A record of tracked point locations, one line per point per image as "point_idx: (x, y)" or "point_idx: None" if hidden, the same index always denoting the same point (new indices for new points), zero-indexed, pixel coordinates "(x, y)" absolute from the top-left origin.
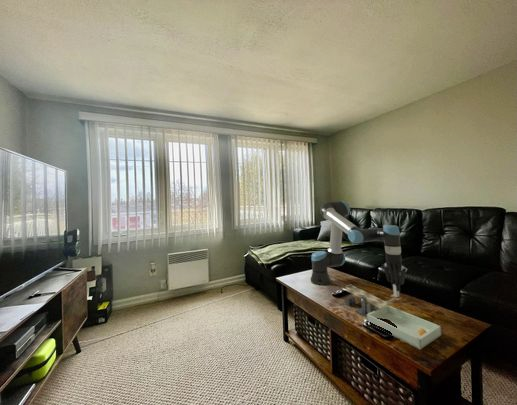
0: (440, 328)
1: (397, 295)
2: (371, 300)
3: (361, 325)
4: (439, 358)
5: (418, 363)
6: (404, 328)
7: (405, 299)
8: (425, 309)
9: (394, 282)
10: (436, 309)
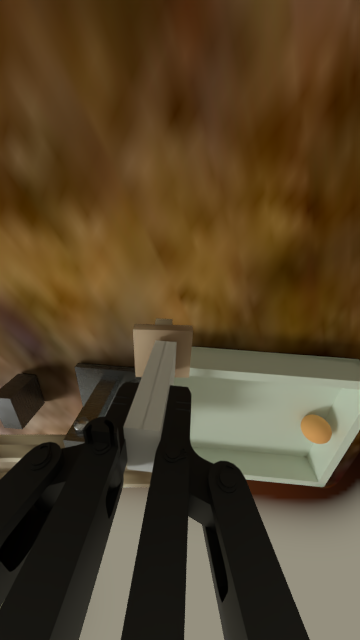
0: None
1: (174, 370)
2: (124, 484)
3: None
4: (350, 454)
5: (311, 486)
6: (251, 415)
7: (102, 53)
8: (265, 129)
9: (118, 466)
10: (329, 37)
